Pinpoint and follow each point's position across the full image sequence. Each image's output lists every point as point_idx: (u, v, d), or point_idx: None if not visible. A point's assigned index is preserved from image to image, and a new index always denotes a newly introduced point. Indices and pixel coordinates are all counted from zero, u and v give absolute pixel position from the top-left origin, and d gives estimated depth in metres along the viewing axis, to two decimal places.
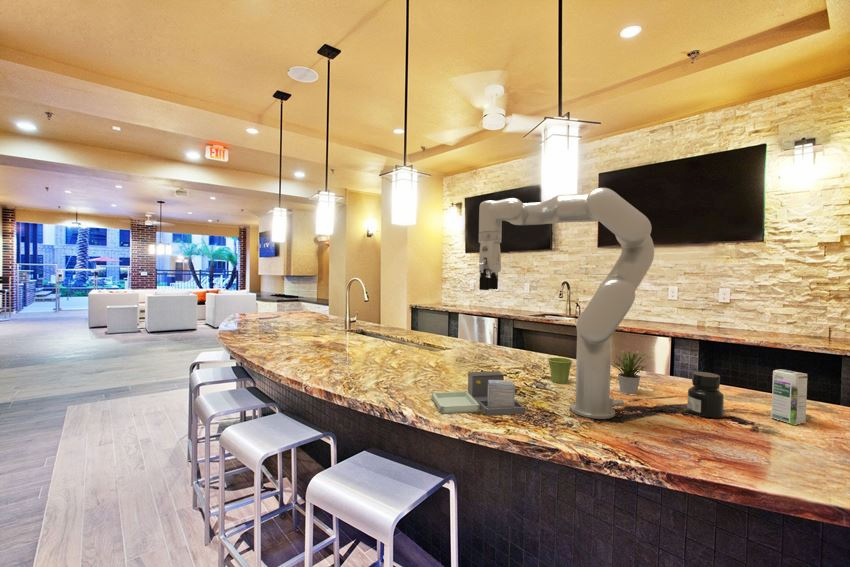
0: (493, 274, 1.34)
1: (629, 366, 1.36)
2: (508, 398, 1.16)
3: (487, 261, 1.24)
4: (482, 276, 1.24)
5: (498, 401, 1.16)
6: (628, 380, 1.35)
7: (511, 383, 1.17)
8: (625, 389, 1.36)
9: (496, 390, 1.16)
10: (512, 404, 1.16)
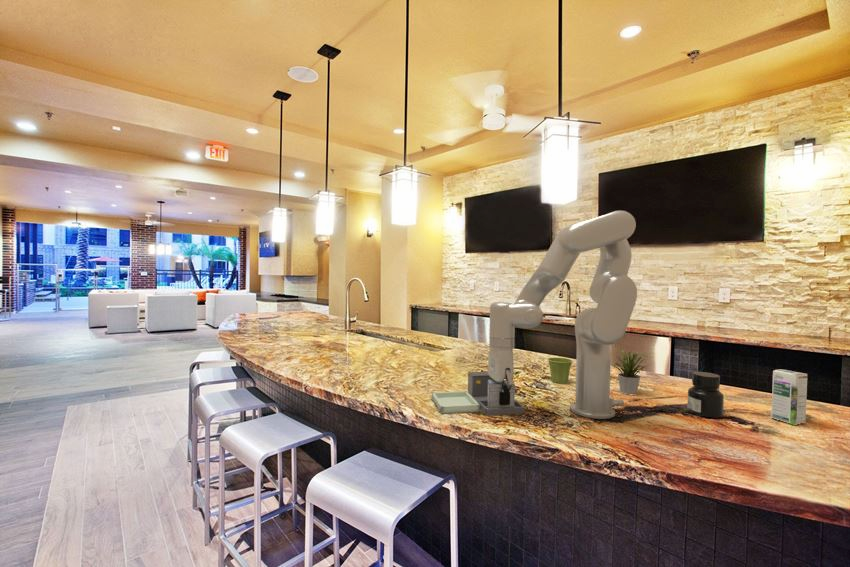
0: None
1: (629, 366, 1.36)
2: None
3: None
4: None
5: (498, 401, 1.16)
6: (628, 379, 1.35)
7: None
8: (625, 389, 1.36)
9: (496, 390, 1.16)
10: (512, 404, 1.16)
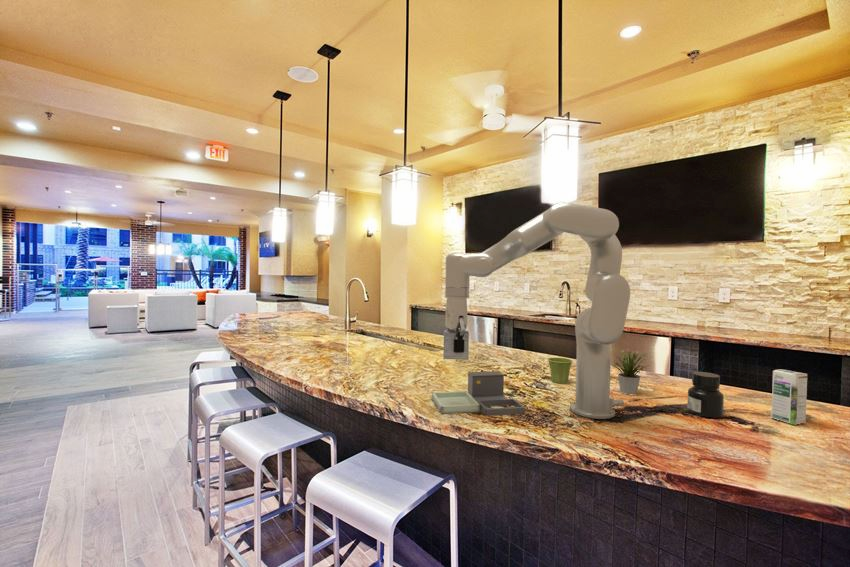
0: None
1: (629, 366, 1.36)
2: None
3: None
4: None
5: (453, 349, 1.20)
6: (628, 379, 1.35)
7: (466, 332, 1.20)
8: (625, 389, 1.36)
9: (451, 338, 1.20)
10: (466, 352, 1.19)
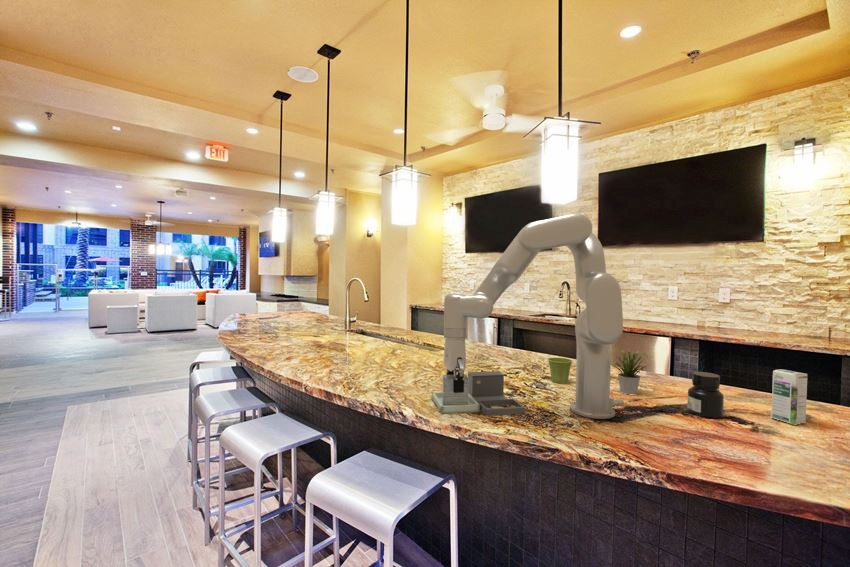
0: None
1: (629, 366, 1.36)
2: None
3: None
4: None
5: (452, 395, 1.20)
6: (628, 379, 1.35)
7: (465, 377, 1.21)
8: (625, 389, 1.36)
9: (451, 384, 1.20)
10: (466, 397, 1.20)
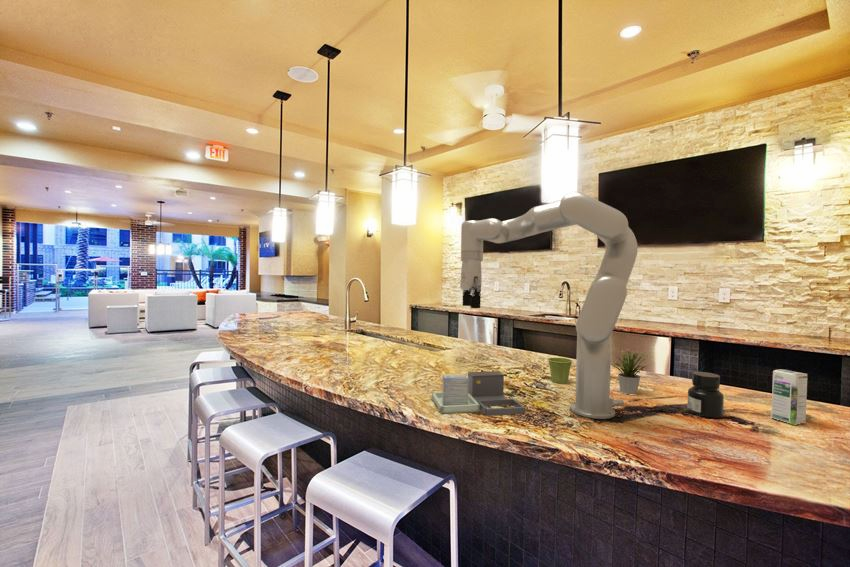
0: None
1: (629, 366, 1.36)
2: (462, 392, 1.20)
3: None
4: None
5: (452, 395, 1.20)
6: (628, 379, 1.35)
7: (465, 377, 1.21)
8: (625, 389, 1.36)
9: (451, 384, 1.20)
10: (466, 397, 1.20)
